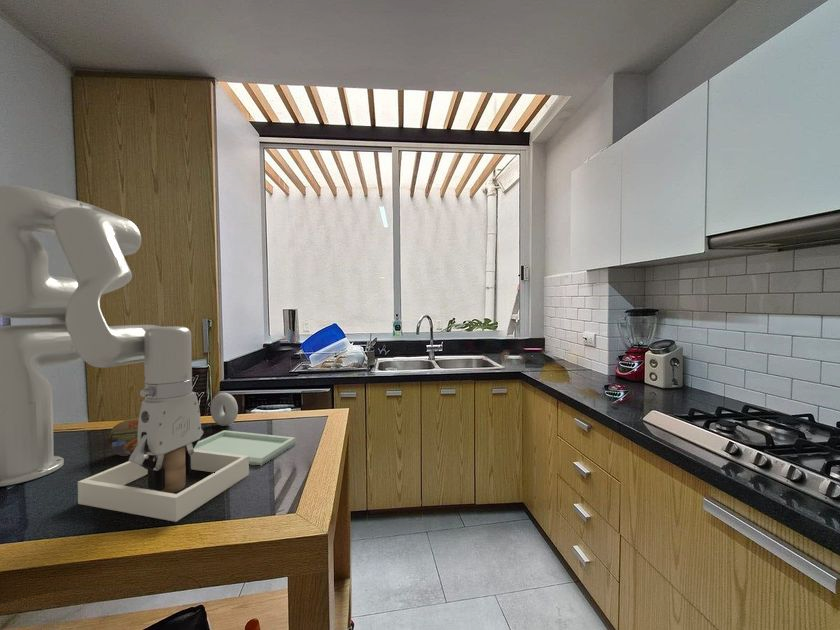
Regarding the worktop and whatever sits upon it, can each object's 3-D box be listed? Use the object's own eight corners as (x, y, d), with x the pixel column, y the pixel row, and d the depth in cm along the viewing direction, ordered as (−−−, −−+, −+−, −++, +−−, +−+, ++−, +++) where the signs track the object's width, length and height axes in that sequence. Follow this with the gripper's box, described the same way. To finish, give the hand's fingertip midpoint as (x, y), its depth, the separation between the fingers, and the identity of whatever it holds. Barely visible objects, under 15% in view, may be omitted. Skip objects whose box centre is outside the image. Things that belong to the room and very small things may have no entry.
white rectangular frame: (78, 503, 64) (77, 481, 64) (166, 463, 80) (166, 445, 80) (176, 521, 58) (175, 498, 58) (248, 474, 75) (248, 455, 75)
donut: (240, 426, 105) (240, 393, 105) (230, 430, 102) (230, 395, 102) (218, 421, 109) (218, 389, 109) (207, 425, 106) (207, 392, 106)
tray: (182, 456, 84) (181, 448, 84) (224, 436, 97) (224, 430, 97) (261, 466, 79) (261, 458, 79) (295, 444, 91) (295, 437, 91)
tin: (106, 458, 83) (105, 423, 83) (111, 453, 86) (111, 419, 85) (182, 448, 89) (182, 415, 89) (185, 444, 92) (184, 412, 91)
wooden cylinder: (147, 492, 67) (147, 451, 67) (172, 480, 72) (171, 441, 72) (168, 496, 66) (168, 454, 66) (191, 483, 71) (191, 444, 71)
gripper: (140, 402, 60) (141, 508, 60) (219, 381, 76) (220, 465, 77) (106, 399, 62) (108, 502, 62) (191, 380, 78) (192, 461, 78)
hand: (170, 480), depth 69 cm, fingers closed on wooden cylinder, 5 cm apart
